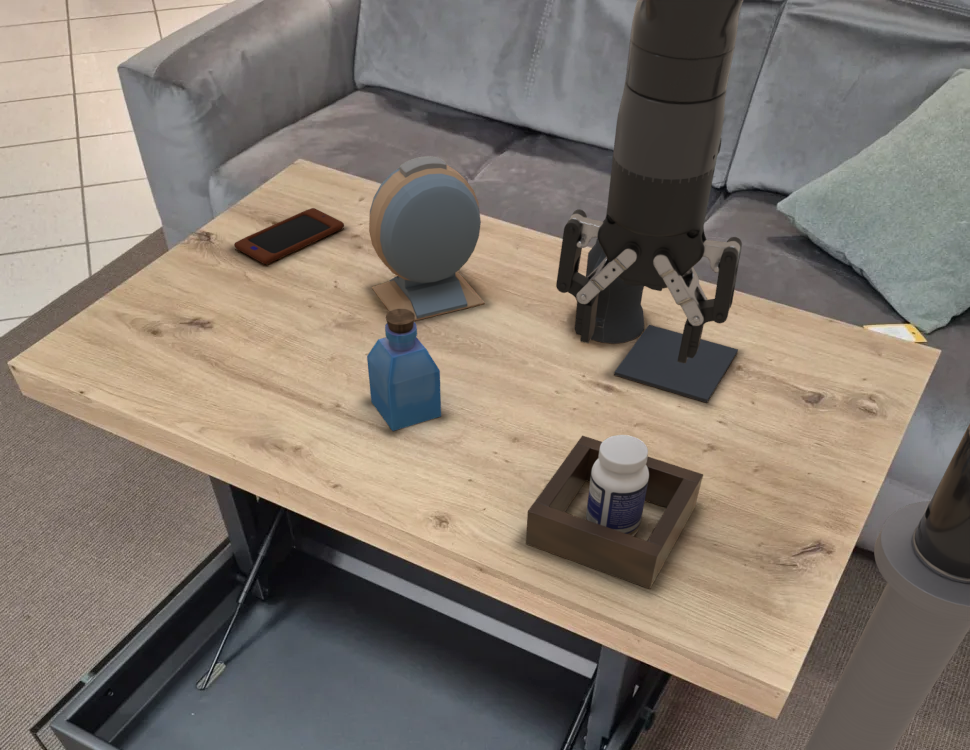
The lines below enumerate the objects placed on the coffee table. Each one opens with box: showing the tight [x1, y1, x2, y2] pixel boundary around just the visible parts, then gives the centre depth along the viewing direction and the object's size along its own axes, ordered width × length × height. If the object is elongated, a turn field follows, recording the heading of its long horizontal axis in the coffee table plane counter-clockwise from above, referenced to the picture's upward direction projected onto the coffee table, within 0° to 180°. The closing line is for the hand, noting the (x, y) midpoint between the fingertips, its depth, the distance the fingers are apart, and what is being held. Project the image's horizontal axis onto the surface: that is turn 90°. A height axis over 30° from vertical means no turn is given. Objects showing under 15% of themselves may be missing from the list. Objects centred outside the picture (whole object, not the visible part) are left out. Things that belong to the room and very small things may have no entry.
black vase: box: [585, 238, 645, 344], centre depth 117 cm, size 12×9×11 cm
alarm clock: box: [368, 155, 485, 322], centre depth 119 cm, size 14×10×18 cm
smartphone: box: [233, 207, 345, 265], centre depth 135 cm, size 7×1×15 cm
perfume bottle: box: [366, 309, 442, 432], centre depth 106 cm, size 6×6×12 cm
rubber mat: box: [613, 324, 739, 404], centre depth 117 cm, size 12×12×1 cm
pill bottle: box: [585, 434, 649, 537], centre depth 94 cm, size 6×6×10 cm
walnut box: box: [525, 435, 704, 590], centre depth 96 cm, size 14×14×4 cm
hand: (635, 348), depth 81 cm, fingers open, 8 cm apart
